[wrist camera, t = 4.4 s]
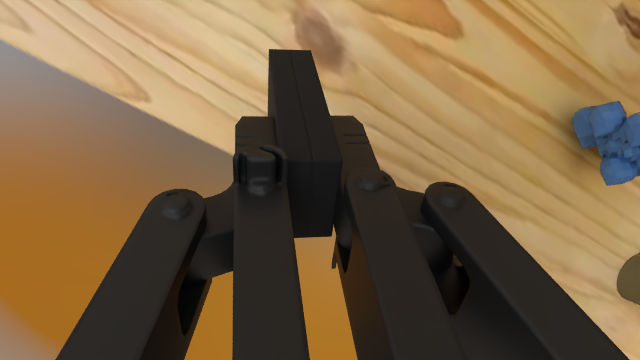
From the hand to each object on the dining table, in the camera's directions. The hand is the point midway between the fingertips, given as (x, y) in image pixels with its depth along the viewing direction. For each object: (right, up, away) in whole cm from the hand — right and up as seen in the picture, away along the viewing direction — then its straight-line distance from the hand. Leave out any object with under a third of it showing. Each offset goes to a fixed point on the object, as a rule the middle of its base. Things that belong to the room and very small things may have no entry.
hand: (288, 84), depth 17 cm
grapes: (+27, 0, +28) cm, 39 cm away
